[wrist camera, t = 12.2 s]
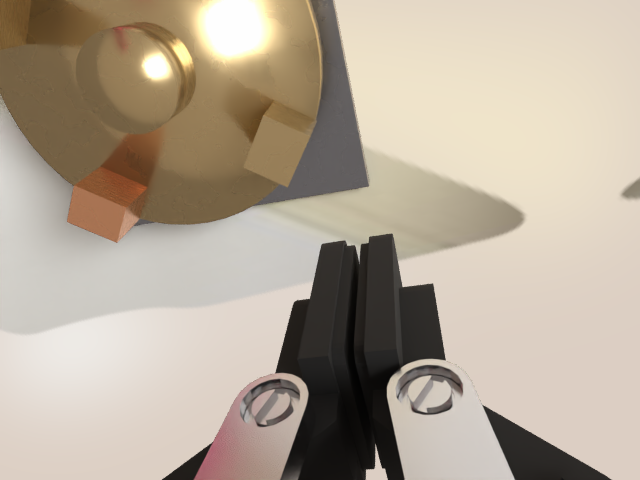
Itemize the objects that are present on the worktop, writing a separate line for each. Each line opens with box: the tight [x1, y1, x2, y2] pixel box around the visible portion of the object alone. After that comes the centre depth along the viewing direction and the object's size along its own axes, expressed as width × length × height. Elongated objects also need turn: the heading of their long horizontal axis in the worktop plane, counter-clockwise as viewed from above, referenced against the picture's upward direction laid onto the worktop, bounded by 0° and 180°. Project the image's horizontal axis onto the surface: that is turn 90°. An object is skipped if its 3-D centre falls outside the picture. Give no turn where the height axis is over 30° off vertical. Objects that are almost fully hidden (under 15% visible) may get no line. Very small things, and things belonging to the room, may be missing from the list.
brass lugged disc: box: [0, 0, 323, 243], centre depth 31 cm, size 22×22×6 cm
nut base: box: [134, 0, 369, 226], centre depth 35 cm, size 24×24×3 cm
